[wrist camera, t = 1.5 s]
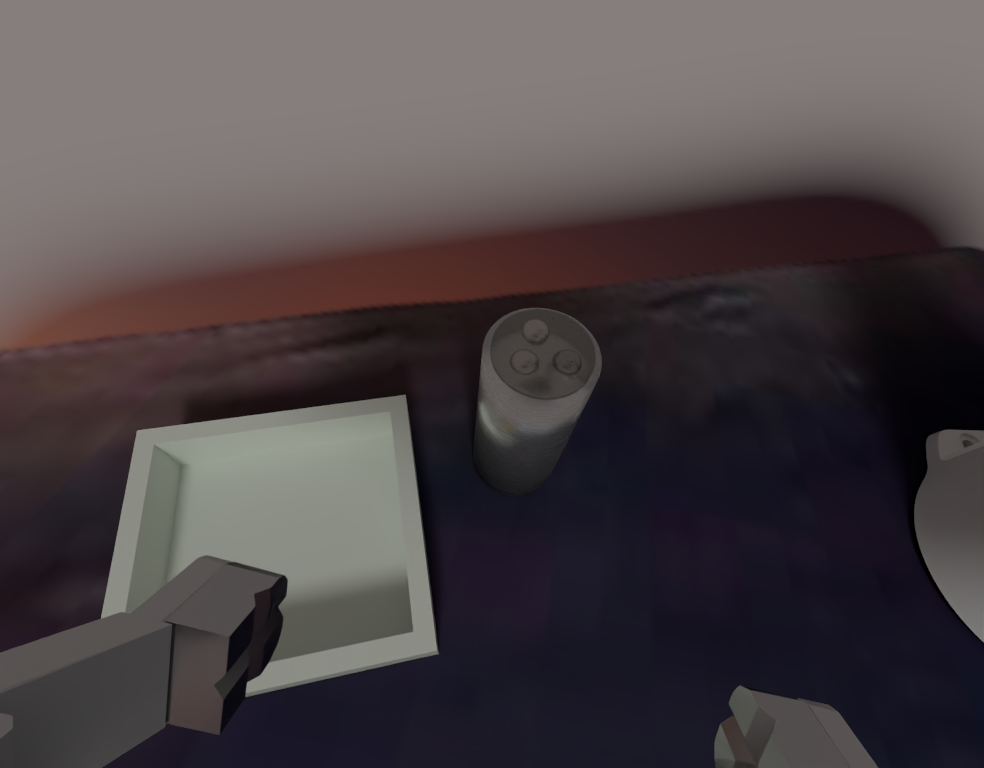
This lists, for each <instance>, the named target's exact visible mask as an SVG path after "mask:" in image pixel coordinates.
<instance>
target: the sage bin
mask: <svg viewBox="0 0 984 768" xmlns="http://www.w3.org/2000/svg"><path fill="white" fill-rule="evenodd" d="M206 555H209V556H213V557H216V558H220V559H224V560H228V561H231V562H237V563H241V564H244V565H248V566H252V567H256V568H259V569H263V570H267V571H271V572H274V573H278V574H282V575H285V576H286V578H287V579H288V585H287V596H286V597H285V599H284V600H283V601H282V602H281V604H280V605H279V606H278V607H279V609H280V611H281V613H282V615H283V617H284V619H283V626H282V631H281V635H280V638H279V642H278V644H277V647H276V649H275V651H274V653H273V655H272V657H271V660H270V662H269V663H268V665H267V666H266V668H265V669H264V671H263V672H262V674H261V675H260V676H258V677H256V678H254V679H252V680H251V681H249V682H247V687H246V695H245V697H248V696H252V695H257V694H261V693H266V692H270V691H275V690H279V689H284V688H288V687H293V686H297V685H302V684H306V683H310V682H315V681H319V680H324V679H328V678H333V677H337V676H342V675H346V674H351V673H355V672H360V671H364V670H369V669H373V668H378V667H382V666H387V665H391V664H396V663H400V662H405V661H409V660H414V659H418V658H423V657H427V656H431V655H436V654H439V649H438V641H437V633H436V625H435V617H434V609H433V601H432V593H431V585H430V577H429V569H428V561H427V553H426V545H425V537H424V529H423V521H422V513H421V505H420V497H419V489H418V481H417V473H416V465H415V457H414V449H413V441H412V433H411V425H410V419H409V413H408V407H407V400H406V395H400V396H392V397H385V398H377V399H370V400H362V401H355V402H347V403H340V404H332V405H325V406H317V407H310V408H303V409H295V410H288V411H280V412H273V413H265V414H258V415H250V416H243V417H235V418H228V419H220V420H213V421H205V422H198V423H190V424H183V425H175V426H168V427H160V428H153V429H145V430H138V431H137V435H136V440H135V445H134V450H133V455H132V460H131V466H130V471H129V476H128V481H127V486H126V492H125V497H124V502H123V507H122V512H121V518H120V523H119V528H118V533H117V538H116V543H115V549H114V554H113V559H112V564H111V569H110V575H109V580H108V585H107V590H106V595H105V601H104V606H103V611H102V616H101V619H102V618H105V617H108V616H111V615H113V614H116V613H119V612H125V613H129V614H131V613H132V612H133V611H134V610H136V609H137V608H138V607H139V606H141V605H142V604H143V603H144V602H145V601H147V600H148V599H149V598H150V597H151V596H153V595H154V594H155V593H156V592H157V591H159V590H160V589H161V588H162V587H163V586H165V585H166V584H167V583H168V582H169V581H171V580H172V579H173V578H174V577H175V576H177V575H178V574H179V573H180V572H181V571H183V570H184V569H185V568H186V567H187V566H189V565H190V564H191V563H192V562H193V561H195V560H196V559H197V558H199V557H202V556H206Z"/></svg>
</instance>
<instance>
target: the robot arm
mask: <svg viewBox="0 0 984 768" xmlns="http://www.w3.org/2000/svg"><path fill="white" fill-rule="evenodd" d="M926 455H927V464H928V469H927V473H926V476H925V478H924V480H923V482H922V484H921V486H920V488H919V490H918V493H917V496H916V500H915V507H914V522H915V530H916V535H917V539H918V543H919V547H920V550H921V553H922V555H923V558H924V560H925V563H926V565H927V567H928V569H929V571H930V573H931V575H932V577H933V579H934V581H935V582H936V584H937V586H938V587H939V589H940V591H941V592H942V594H943V595H944V597H945V598H946V600H947V601H948V602H949V604H950V605H951V607H952V608H953V609H954V610H955V612H956V613H957V614H958V616H959V617H960V618H961V619H962V620H963V621H964V623H965V624H966V625H967V626H968V627H969V628H970V629H971V630H972V631H973V632H974V633H975V635H977V636H978V637H979V638H980V639H981V640H982V641H983V642H984V431H976V430H943V431H940V432H937V433H934V434H931V435H930V436H929V437H928V438H927V441H926ZM287 585H288V579H287V578H286V576H285V575H282V574H278V573H274V572H271V571H267V570H263V569H259V568H256V567H252V566H248V565H244V564H241V563H237V562H231V561H228V560H224V559H220V558H216V557H213V556H209V555H206V556H202V557H199V558H197V559H196V560H195V561H193V562H192V563H191V564H190V565H189V566H187V567H186V568H185V569H184V570H183V571H181V572H180V573H179V574H178V575H177V576H175V577H174V578H173V579H172V580H171V581H169V582H168V583H167V584H166V585H165V586H163V587H162V588H161V589H160V590H159V591H157V592H156V593H155V594H154V595H153V596H151V597H150V598H149V599H148V600H147V601H145V602H144V603H143V604H142V605H141V606H139V607H138V608H137V609H136V610H134V611H133V612H132V613H131V614H129V613H125V612H119V613H116V614H113V615H111V616H108V617H105V618H102V619H99V620H96V621H93V622H90V623H87V624H84V625H81V626H78V627H75V628H72V629H69V630H66V631H63V632H60V633H57V634H54V635H51V636H48V637H46V638H43V639H40V640H37V641H34V642H31V643H28V644H25V645H22V646H19V647H16V648H13V649H10V650H7V651H4V652H1V653H0V768H102V767H103V766H105V765H106V764H108V763H109V762H111V761H113V760H114V759H116V758H117V757H119V756H120V755H122V754H123V753H125V752H127V751H128V750H130V749H131V748H133V747H134V746H136V745H137V744H139V743H141V742H142V741H144V740H145V739H147V738H148V737H150V736H151V735H153V734H155V733H156V732H158V731H159V730H161V729H162V728H164V727H165V724H166V723H168V724H172V725H177V726H182V727H186V728H191V729H195V730H200V731H205V732H209V733H214V734H218V735H220V734H221V732H222V731H223V729H224V728H225V726H226V725H227V723H228V722H229V720H230V719H231V718H232V716H233V715H234V713H235V712H236V710H237V709H238V707H239V706H240V705H241V703H242V702H243V700H244V699H245V695H246V687H247V682H249V681H251V680H252V679H254V678H256V677H258V676H260V675H261V674H262V672H263V671H264V669H265V668H266V666H267V665H268V663H269V662H270V660H271V657H272V655H273V653H274V651H275V649H276V647H277V644H278V642H279V638H280V635H281V631H282V626H283V619H284V617H283V615H282V613H281V611H280V609H279V607H278V606H279V605H280V604H281V602H282V601H283V600H284V599H285V597H286V596H287ZM729 705H730V708H731V710H732V713H733V716H732V717H730V718H729V719H727V720H726V721H724V722H723V723H721V724H720V727H719V730H718V732H717V735H716V738H715V756H714V759H715V764H716V768H878V767H877V765H876V764H875V763H874V761H873V760H872V758H871V757H870V756H869V754H868V753H867V751H866V750H865V749H864V747H863V746H862V745H861V743H860V742H859V740H858V739H857V738H856V736H855V735H854V733H853V732H852V731H851V729H850V728H849V726H848V725H847V724H846V722H845V721H844V719H843V718H842V717H841V715H840V714H839V713H838V712H837V711H836V710H835V709H834V708H832V707H831V706H830V705H827V704H822V703H818V702H813V701H808V700H804V699H795V698H791V697H787V696H783V695H778V694H774V693H770V692H766V691H761V690H757V689H753V688H749V687H744V686H739V687H738V688H737V689H736V690H735V691H734V692H733V694H732V696H731V699H730V701H729Z"/></svg>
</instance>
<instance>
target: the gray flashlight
mask: <svg viewBox="0 0 984 768" xmlns="http://www.w3.org/2000/svg"><path fill="white" fill-rule="evenodd" d="M601 367H602V358H601V352H600V349H599V346H598V344H597V342H596V340H595V338H594V337H593V335H592V334H591V333H590V332H589V330H588V329H587V328H586V327H585V326H584V325H582V324H581V323H580V322H579V321H577V320H576V319H574V318H572V317H571V316H569V315H567V314H564V313H562V312H559V311H556V310H552V309H546V308H526V309H520V310H517V311H514V312H511V313H509V314H507V315H505V316H503V317H502V318H500V319H499V320H498V321H497V322H496V323H495V324H494V325H493V326H492V327H491V328H490V329H489V331H488V333H487V335H486V337H485V340H484V343H483V348H482V359H481V370H480V380H479V391H478V402H477V412H476V423H475V434H474V444H473V464H474V468H475V470H476V472H477V474H478V476H479V478H480V479H481V480H482V481H483V482H484V483H485V484H486V485H487V486H488V487H489V488H491V489H492V490H494V491H496V492H498V493H500V494H504V495H508V496H523V495H527V494H530V493H533V492H535V491H537V490H538V489H540V488H541V487H542V486H543V485H544V484H545V483H546V482H547V480H548V479H549V477H550V476H551V474H552V472H553V470H554V468H555V466H556V463H557V461H558V459H559V457H560V455H561V453H562V451H563V449H564V447H565V445H566V443H567V441H568V439H569V437H570V435H571V433H572V431H573V429H574V427H575V425H576V423H577V421H578V419H579V417H580V415H581V413H582V411H583V409H584V407H585V405H586V403H587V401H588V399H589V397H590V395H591V393H592V391H593V389H594V387H595V385H596V383H597V381H598V379H599V376H600V373H601Z"/></svg>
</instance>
